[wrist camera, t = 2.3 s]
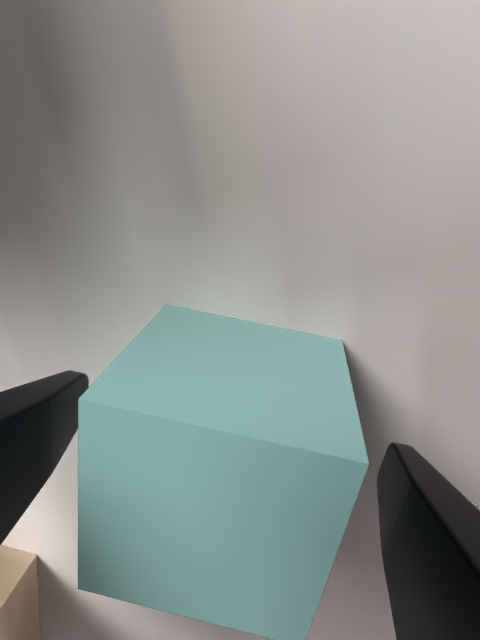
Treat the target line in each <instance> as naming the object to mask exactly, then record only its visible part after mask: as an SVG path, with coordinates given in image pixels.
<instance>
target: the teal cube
mask: <svg viewBox="0 0 480 640" xmlns="http://www.w3.org/2000/svg"><path fill="white" fill-rule="evenodd" d="M368 466H369V460H368V456H367V451H366V447H365V442H364V438H363V433H362V429H361V424H360V419H359V415H358V410H357V406H356V401H355V397H354V392H353V388H352V383H351V378H350V374H349V369H348V365H347V360H346V356H345V351H344V347H343V342H342V340H338V339H333V338H328V337H323V336H318V335H313V334H308V333H303V332H299V331H294V330H289V329H284V328H279V327H274V326H269V325H264V324H259V323H254V322H249V321H244V320H240V319H235V318H230V317H225V316H220V315H215V314H210V313H205V312H200V311H195V310H190V309H185V308H181V307H176V306H171V305H166V306H165V307H164V308H163V309H162V310H161V311H160V312H159V313H158V314H157V315H156V316H155V317H154V319H153V320H152V321H151V322H150V323H149V324H148V325H147V326H146V327H145V328H144V329H143V330H142V331H141V332H140V334H139V335H138V336H137V337H136V338H135V339H134V340H133V341H132V342H131V343H130V344H129V345H128V346H127V347H126V349H125V350H124V351H123V352H122V353H121V354H120V355H119V356H118V357H117V358H116V359H115V360H114V361H113V362H112V364H111V365H110V366H109V367H108V368H107V369H106V370H105V371H104V372H103V373H102V374H101V375H100V376H99V377H98V379H97V380H96V381H95V382H94V383H93V384H92V385H91V386H90V387H89V388H88V389H87V390H86V391H85V392H84V394H83V395H82V396H81V397H80V398H79V399H78V589H80V590H84V591H88V592H92V593H96V594H100V595H103V596H107V597H111V598H115V599H119V600H123V601H127V602H131V603H134V604H138V605H142V606H146V607H150V608H154V609H158V610H161V611H165V612H169V613H173V614H177V615H181V616H185V617H188V618H192V619H196V620H200V621H204V622H208V623H212V624H215V625H219V626H223V627H227V628H231V629H235V630H239V631H242V632H246V633H250V634H254V635H258V636H262V637H266V638H270V639H273V640H306V638H307V635H308V632H309V629H310V627H311V624H312V621H313V618H314V616H315V613H316V610H317V607H318V605H319V602H320V599H321V596H322V593H323V591H324V588H325V585H326V582H327V580H328V577H329V574H330V571H331V569H332V566H333V563H334V560H335V557H336V555H337V552H338V549H339V546H340V544H341V541H342V538H343V535H344V533H345V530H346V527H347V524H348V521H349V519H350V516H351V513H352V510H353V508H354V505H355V502H356V499H357V496H358V494H359V491H360V488H361V485H362V483H363V480H364V477H365V474H366V472H367V469H368Z"/></svg>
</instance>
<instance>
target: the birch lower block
mask: <svg viewBox="0 0 480 640" xmlns="http://www.w3.org/2000/svg"><path fill="white" fill-rule="evenodd" d="M0 640H41V633H40V611H39V590H38V568H37V554H33V553H29V552H25V551H22V550H18V549H14V548H10V547H6V546H3V545H0Z"/></svg>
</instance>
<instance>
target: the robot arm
mask: <svg viewBox="0 0 480 640" xmlns="http://www.w3.org/2000/svg"><path fill="white" fill-rule="evenodd" d="M88 388H89V380H88V376H87V375H86V374H84V373H80V372H75V371H65V372H62V373H59V374H56V375H52V376H49V377H46V378H43V379H40V380H37V381H33V382H30V383H27V384H24V385H21V386H18V387H15V388H11V389H8V390H5V391H2V392H0V545H1V544H2V542H3V541H4V540H5V538H6V537H7V536H8V534H9V533H10V531H11V530H12V529H13V527H14V526H15V524H16V523H17V522H18V520H19V519H20V518H21V516H22V515H23V513H24V512H25V511H26V509H27V508H28V506H29V505H30V504H31V502H32V501H33V500H34V498H35V497H36V495H37V494H38V493H39V491H40V490H41V488H42V487H43V486H44V484H45V483H46V481H47V480H48V478H49V477H50V476H51V474H52V473H53V471H54V469H55V468H56V466H57V464H58V463H59V461H60V459H61V457H62V456H63V454H64V452H65V450H66V449H67V447H68V445H69V443H70V441H71V440H72V438H73V436H74V434H75V433H76V431H77V429H78V399H79V398H80V397H81V396H82V395H83V394H84V392H85V391H86V390H87V389H88ZM377 490H378V506H379V522H380V538H381V550H382V558H383V565H384V571H385V576H386V582H387V588H388V593H389V599H390V605H391V610H392V616H393V622H394V627H395V633H396V639H397V640H480V511H479V510H478V509H477V508H476V507H475V506H474V505H473V504H472V503H471V502H470V501H469V500H468V499H467V498H466V497H464V496H463V495H462V494H461V493H460V492H459V491H458V490H457V489H456V488H455V487H454V486H453V485H452V484H451V483H450V482H449V481H448V480H447V479H445V478H444V477H443V476H442V475H441V474H440V473H439V472H438V471H437V470H436V469H435V468H434V467H433V466H432V465H431V464H430V463H429V462H428V461H427V460H425V459H424V458H423V457H422V456H421V455H420V454H419V453H418V452H417V451H416V450H415V449H414V448H413V447H411V446H409V445H404V444H400V443H395V442H393V443H391V444H390V445H389V446H388V448H387V451H386V453H385V456H384V459H383V461H382V464H381V466H380V469H379V472H378V477H377Z"/></svg>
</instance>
